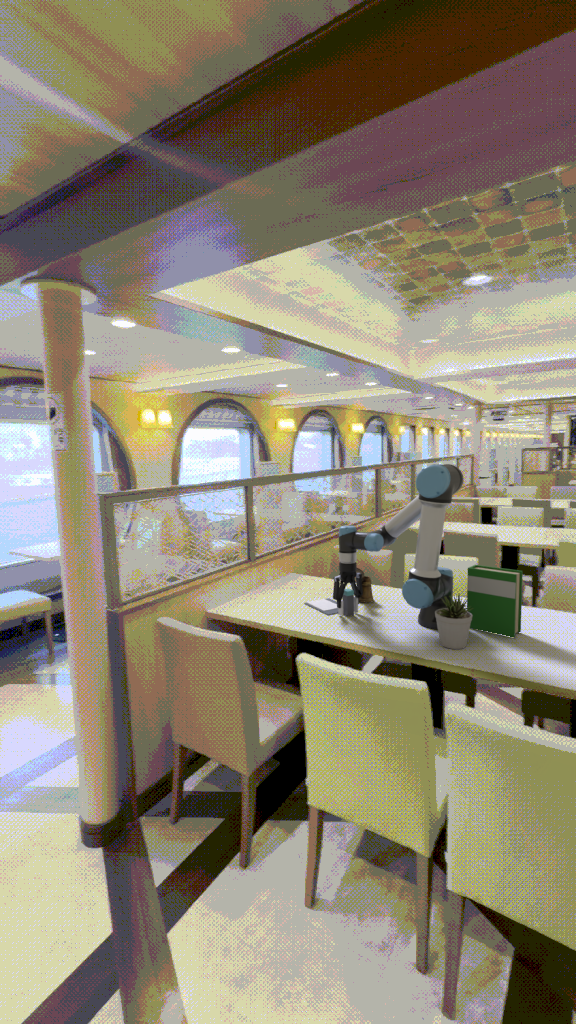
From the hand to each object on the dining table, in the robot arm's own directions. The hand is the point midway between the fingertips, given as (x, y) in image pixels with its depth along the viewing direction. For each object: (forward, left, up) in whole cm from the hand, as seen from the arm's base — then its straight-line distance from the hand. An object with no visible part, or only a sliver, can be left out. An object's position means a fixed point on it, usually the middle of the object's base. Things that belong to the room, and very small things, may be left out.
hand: (348, 613), depth 197 cm
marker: (0, 0, -1) cm, 1 cm away
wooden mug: (+12, -17, -1) cm, 21 cm away
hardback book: (-45, -36, -1) cm, 58 cm away
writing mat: (+14, +1, -1) cm, 14 cm away
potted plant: (-47, -11, -1) cm, 48 cm away
